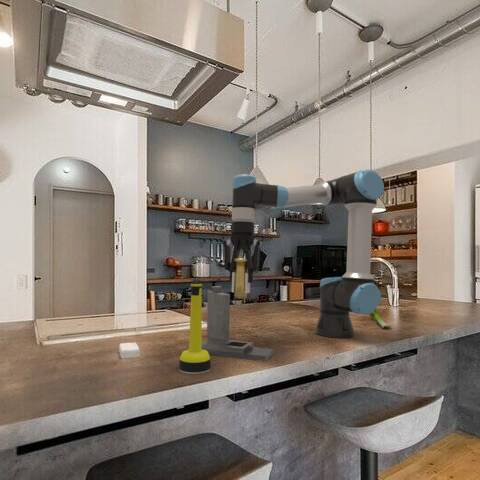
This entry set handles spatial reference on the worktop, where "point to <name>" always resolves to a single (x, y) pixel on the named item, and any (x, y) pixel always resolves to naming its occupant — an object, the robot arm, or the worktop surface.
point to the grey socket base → (236, 349)
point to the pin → (240, 278)
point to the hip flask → (218, 314)
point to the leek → (379, 319)
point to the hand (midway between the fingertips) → (240, 292)
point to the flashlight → (195, 337)
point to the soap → (128, 350)
